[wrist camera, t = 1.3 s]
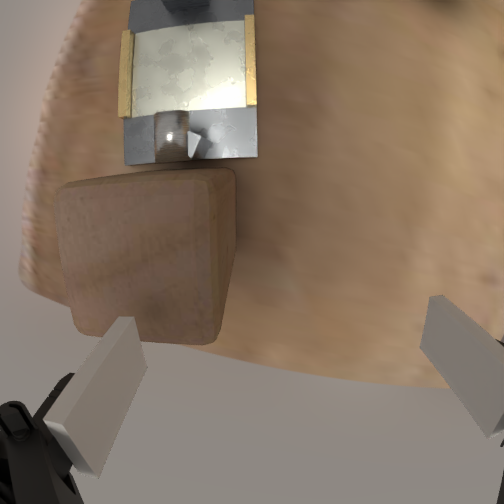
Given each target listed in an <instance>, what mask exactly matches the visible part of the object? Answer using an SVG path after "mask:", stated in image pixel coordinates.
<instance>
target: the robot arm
mask: <svg viewBox="0 0 504 504" xmlns="http://www.w3.org/2000/svg"><path fill="white" fill-rule="evenodd" d="M420 349H421V350H422V351H423V352H424V354H425V355H426V356H427V357H428V359H429V360H430V361H431V362H432V364H433V365H434V366H435V368H436V369H437V370H438V371H439V373H440V374H441V375H442V377H443V378H444V379H445V381H446V382H447V383H448V385H449V386H450V387H451V389H452V390H453V391H454V392H455V394H456V395H457V397H458V398H459V399H460V401H461V402H462V403H463V405H464V406H465V408H466V409H467V410H468V412H469V413H470V415H471V416H472V417H473V419H474V420H475V422H476V423H477V425H478V426H479V427H480V429H481V430H482V431H483V433H484V435H485V436H486V438H487V439H490V438H492V437H494V436H496V435H498V434H500V433H502V431H503V430H504V343H503V342H501V341H499V340H497V339H494V338H493V337H492V336H491V335H490V334H489V333H487V332H486V331H485V330H484V329H483V328H482V327H481V326H479V325H478V324H477V323H476V322H475V321H474V320H472V319H471V318H470V317H469V316H468V315H466V314H465V313H464V312H463V311H462V310H460V309H459V308H458V307H457V306H456V305H454V304H453V303H452V302H451V301H449V300H448V299H447V298H446V297H444V296H443V295H439V296H432V297H430V298H429V304H428V310H427V315H426V320H425V325H424V330H423V335H422V340H421V344H420ZM146 370H147V364H146V361H145V357H144V354H143V350H142V346H141V342H140V338H139V334H138V330H137V326H136V322H135V318H134V317H122V316H119V317H118V318H117V319H116V321H115V322H114V323H113V324H112V326H111V327H110V328H109V329H108V331H107V332H106V333H105V335H104V336H103V337H102V338H101V340H100V341H99V342H98V344H97V345H96V346H95V348H94V349H93V351H92V352H91V353H90V354H89V356H88V357H87V358H86V360H85V361H84V362H83V364H82V365H81V366H80V368H79V369H78V370H77V372H76V373H69V374H68V375H66V376H65V377H63V378H62V379H61V380H60V381H59V382H58V383H57V385H56V386H55V387H54V390H52V391H51V393H50V394H49V397H47V398H46V400H45V401H44V402H43V404H42V405H41V406H40V408H39V409H38V411H37V412H36V413H35V415H34V416H33V418H32V417H31V415H30V413H29V411H28V410H27V408H26V406H25V405H24V404H23V403H21V402H19V401H9V402H7V403H4V404H2V405H1V406H0V430H1V431H0V504H84V502H83V500H82V498H81V496H80V493H79V491H78V488H77V486H76V483H75V481H74V478H73V476H72V475H71V473H70V472H69V471H70V469H71V466H72V464H73V465H74V467H75V468H76V469H77V471H78V472H79V473H80V474H82V475H86V476H90V477H94V478H97V479H99V477H100V475H101V472H102V470H103V467H104V465H105V463H106V460H107V457H108V455H109V453H110V451H111V448H112V446H113V444H114V441H115V439H116V437H117V434H118V432H119V430H120V427H121V425H122V423H123V421H124V418H125V416H126V414H127V411H128V409H129V407H130V405H131V403H132V400H133V398H134V396H135V394H136V391H137V389H138V387H139V385H140V383H141V381H142V378H143V376H144V374H145V372H146ZM503 445H504V440H503V441H502V443H501V447H503ZM497 504H504V471H503V477H502V483H501V487H500V491H499V496H498V500H497Z"/></svg>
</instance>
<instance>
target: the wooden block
mask: <svg viewBox="0 0 504 504" xmlns="http://www.w3.org/2000/svg"><path fill="white" fill-rule="evenodd" d="M54 211H55V221H56V230H57V238H58V245H59V252H60V258H61V264H62V270H63V275H64V281H65V286H66V291H67V295H68V300H69V304H70V309H71V313H72V317H73V320H74V325H75V326H76V328H77V329H78V331H79V332H80V333H82V334H84V335H89V336H96V337H103V336H104V335H105V333H106V332H107V331H108V329H109V328H110V327H111V326H112V324H113V323H114V322H115V321H116V319H117V318H118V317H119V316H122V317H134V318H135V322H136V326H137V330H138V334H139V338H140V341H144V342H156V343H170V344H187V345H206V344H209V343H213V342H214V341H215V340H216V339H217V336H218V334H219V332H220V329H221V324H222V319H223V313H224V308H225V303H226V298H227V292H228V287H229V282H230V277H231V272H232V266H233V261H234V256H235V251H236V176H235V174H234V172H233V170H231V169H228V168H197V169H172V170H155V171H146V172H137V173H129V174H121V175H113V176H106V177H99V178H93V179H86V180H80V181H74V182H68V183H66V184H65V185H63V186H62V187H61V188H59V189H58V190H57V191H56V193H55V197H54Z"/></svg>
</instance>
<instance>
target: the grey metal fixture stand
mask: <svg viewBox="0 0 504 504" xmlns="http://www.w3.org/2000/svg"><path fill="white" fill-rule="evenodd" d="M256 106H257V102H256V63H255V28H254V2H253V0H135V1H131V7H130V15H129V24H128V30H126V31H122V41H121V53H120V68H119V92H118V117H119V118H122V119H124V158H125V166H127V165H137V164H147V163H166V162H179V161H191V160H197V159H216V158H242V157H258V156H257V111H256Z"/></svg>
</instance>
